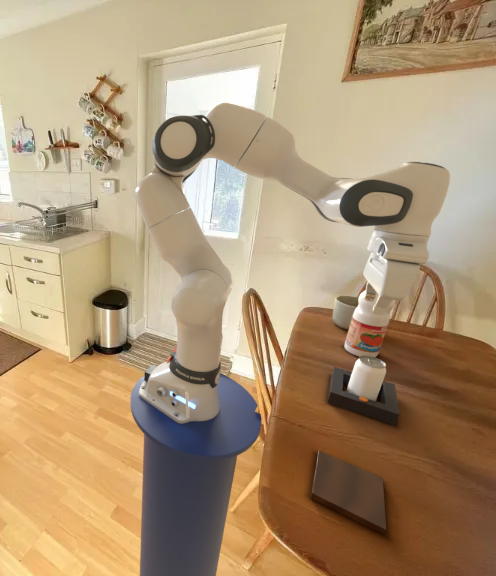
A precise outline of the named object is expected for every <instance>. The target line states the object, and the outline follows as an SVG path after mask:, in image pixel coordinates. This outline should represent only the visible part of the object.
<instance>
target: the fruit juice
mask: <svg viewBox="0 0 496 576" xmlns="http://www.w3.org/2000/svg"><path fill="white" fill-rule="evenodd" d="M365 292H366V289H365V290H363V291H362V292H361V293H360V294H359V296H358V297H359V299H358V303H359V305H358V307H357V308H356V309H355V311H354V313H353V317H352V320H351V324H350V327H349V330H347V334H346V337H345V341H344V349H345V350H346V352H348V353H349V354H351V355H353V356H356V357H358V358H359V357H360V356H371V357H375V358H377V357H378V356H379V353H380V350H381V348H382V345H383V341H384V338H385V336H386V332H387V331H388V327H389V324H390V321H391V311H392V310H393V309H394V307H395V305H396V300H392V302H391V303H390V305H389V306H388V307H387V308H386V310H385V313H384V314H383V315H378V314H374V313H373V311H372V308H373V306H374V304H376V302H377V299H378V295H379V294H378V293H377V292H376V297H375V300H374V301H373V302H370V301H366V300H365V299H364V295H365Z"/></svg>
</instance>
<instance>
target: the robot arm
mask: <svg viewBox="0 0 496 576" xmlns="http://www.w3.org/2000/svg"><path fill="white" fill-rule="evenodd" d="M151 148H152V154H153V160H154V161H153V162H154V166H153V169H152V171H150V173H148V174H147V175H145V176H143V178H141V179H140V180H139V182H138V183H137V185H136V187H135V191H134V195H135V200H136V203H137V206H138V209H139V212H140V214H141V217H142V220H143V223H144V225H145V227H146V229H147V231H148V233H149V236H150V237H151V240H152V241H153V243H154V246H155V248H156V249H157V251H158V254H159V256H160V257H161V258H162V260H163V261H165V262H166V263H168V264H169V265H170V266H171V267H172V268H173V269H174V271H175V272H176V273H177V274H178V276H179V277H180V279H181V281H180V282H179V283H178V285H177V286H176V288H175V290H174V293H173V295H172V299H171V304H170V308H171V312H172V314H173V316H174V318H175V322H176V330H177V335H176V336H177V337H176V346H175V348H174V349H173V351H172V352H171V353H170V354H169V357H168V358H167V359H166V361H164V362H161V363H160V364H158V365H157V366H156V365H154V364H152V365H151V366H150V367H148V368H147V369H146V370H145V371H144V375H145V377H144V382H143V383H142V385H141V386H140V389H139V396H140V397H141V398H142V399H144V400H145V401H147V402H148V403H150V404H151V405H152V406H154V407H155V408H157V409H158V410H160V411H161V412H163V413H164V414H166V415H167V416H169V417H170V418H171V419H173V420H174V421H176V422H177V423H180V424H183V423H187V422H190V421H206V420H210V419H212V418H214V417H215V416H216V415H217V414H218V413H219V410H220V403H219V399H218V382H219V379H220V373H222V372H221V370H222V369H221V366H222V363H221V353H222V346H223V337H224V336H223V316H224V310H225V307H226V303H227V300H228V298H229V296H230V293H231V292H232V289H233V278H232V273H231V271H230V269H229V267H228V266H226V264H224V262H223V261H222V259H221V258H220V257H219V255H218V253H217V252H216V251H215V249H214V247H212V245H211V244H210V242H209V241H208V239H207V237H206V236H205V234H204V232H203V229H202V228H201V225H200V224H199V222H198V220H197V218H196V217H197V216H195V213H194V212H193V209H192V207H191V205H190V203H189V201H188V199H187V197H186V194H185V191H184V188H183V184H184V183H185V182H186V181H187V180H188V178H190V177H191V176H192V175H193V174H194V173H195V172H196V170H197V168H198V167H199V165H200V164H201V163H202V162H203V161H204V160H207V159H215V160H218V161H222V162H224V163H226V164H227V165H229V166H231V167H233V168H235V170H237V171H240V172H242V173H244V174H247V175H249V176H252V177H254V178H258V179H262V180H265V181H270V182H275V183H278V184H280V185H282V186H284V187H286V188H288V189H289V190H292V191H293V192H295V193H297V194H298V195H300V196H302V197H303V198H305V199H307V200H308V201H309V202H310V203H311V204H312V205H313V207H314V208H315V210H316V211H317V213H318V214H319V215H320V216H321V217H322V218H323V219H324V220H326V221H329V222H332V223H339V224H344V225H347V226H351V227H356V228H362V227H374V228H373V231H372V233H371V237H370V239H369V241H368V245H367V248H366V250H367V252H369V253H370V254H369V257H368V259H367V261H366V264H365V266H364V269H363V272H362V273H363V275H362V276H363V277H364V278H365V280H366V281H367V282H366V285H365V290H366V292H365V295H364V299H365V300H366V301H370V302H373V301H374V300H375V297H376V292H377V293H378V294H379V295H378V299H377V302H376V304H374V306H373V308H372V311H373V313H374V314H378V315H383V314H384V313H385V310H386V308H387V307H388V306H389V305H390V303H391V302H392V300H395V301H398V302H401V301H403V300H404V299H405V298H406V297H407V296H408V295H409V292H410V291H411V289H412V287H413V285H414V283H415V281H416V279H417V277H418V275H419V272H420V269H421V265H426V264H427V262H428V261H429V258H430V253H429V250H428V242H429V239H430V237H431V233H432V225H433V223H434V221H435V219H436V218H437V217H438V216H439V214H440V213H441V210H442V208H443V206H444V203H445V199H446V197H447V193H448V191H449V186H450V182H451V174H450V171H449V169H447V168H445V166H442V165H440V164H436V163H435V164H434V163H431V162H421V161H408V162H404V163H403V162H402V164H400V165H399V166H397V167H394V168H392V169H390V170H387V171H384V172H382V173H377V174H374V175H370V176H367V177H360V178H352V177H351V178H349V177H335V176H331V175H329V174H327V173H326V172H324V171H322V170H321V169H319V168H317V167H315V165H312V164H311V163H309V162H307V161H305V160H304V159H303V158H302V157H301V156H300V155H299V154H298V152H297V149H296V141H295V136H294V135H293V134H292V133H291V132H290V131H289V129H287V128H286V127H285V126H283V125H282V124H281V123H279V122H277V120H274V119H273V118H271V117H269V116H267V115H266V114H263V113H261V112H259V111H256V110H254V109H253V108H250V107H247V106H244V105H240V104H237V103H234V102H230V101H220V102H218V103H217V104H215V105H214V106H212V107H211V108H210V109H209V110H208V112H207V113H206V114H205V115H204V114H194V115H186V114H185V115H184V114H183V115H175V116H172V117H169V118H167V119H166V120H164V121H163V122H162V123H161V124H160V125H159V126H158V128H157V130H156V132H155V133H154V136H153V139H152V146H151ZM176 416H177V417H176Z"/></svg>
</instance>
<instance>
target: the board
mask: <svg viewBox="0 0 496 576" xmlns="http://www.w3.org/2000/svg"><path fill="white" fill-rule="evenodd" d="M310 493H311V494H310V499H311V500H313V501H315V502H317V503H319V504H321V505H323V506H324V507H327V508H328V509H331V510H333V511H335V512H337V513H339V514H340V515H342V516H344V517H346V518H349V519H351V520H352V521H355V522H356V523H359V524H361V525H363V526H365V527H367V528H368V529H371V530H372V531H375V532H377V533H379V534H381V535H382V536H384V535H385V533H386V531H387V519H386V518H387V517H386V504H385V491H384V478H383V476H380V475H378V474H375V473H373V472H370V471H368V470H366V469H364V468H361V467H358V466H357V465H354V464H352V463H349V462H347V461H345V460H342V459H340V458H339V457H335V456H333V455H331V454H329V453H326V452H323V451H321V450H318V451H317V455H316V461H315V467H314V473H313V479H312V487H311V492H310Z"/></svg>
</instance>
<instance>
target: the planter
mask: <svg viewBox="0 0 496 576" xmlns="http://www.w3.org/2000/svg"><path fill="white" fill-rule="evenodd" d="M358 299H359V296H354V295H338V296H336V297H335V299H334V303H333V309H332V321H333V323H334V324H335V325H336V326H337V327H339V328H341V329H343V330H347V331H348V330H349V327H350V324H351V320H352V317H353V313H354V311H355V309H356V308H357V307H358V305H359V303H358Z"/></svg>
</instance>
